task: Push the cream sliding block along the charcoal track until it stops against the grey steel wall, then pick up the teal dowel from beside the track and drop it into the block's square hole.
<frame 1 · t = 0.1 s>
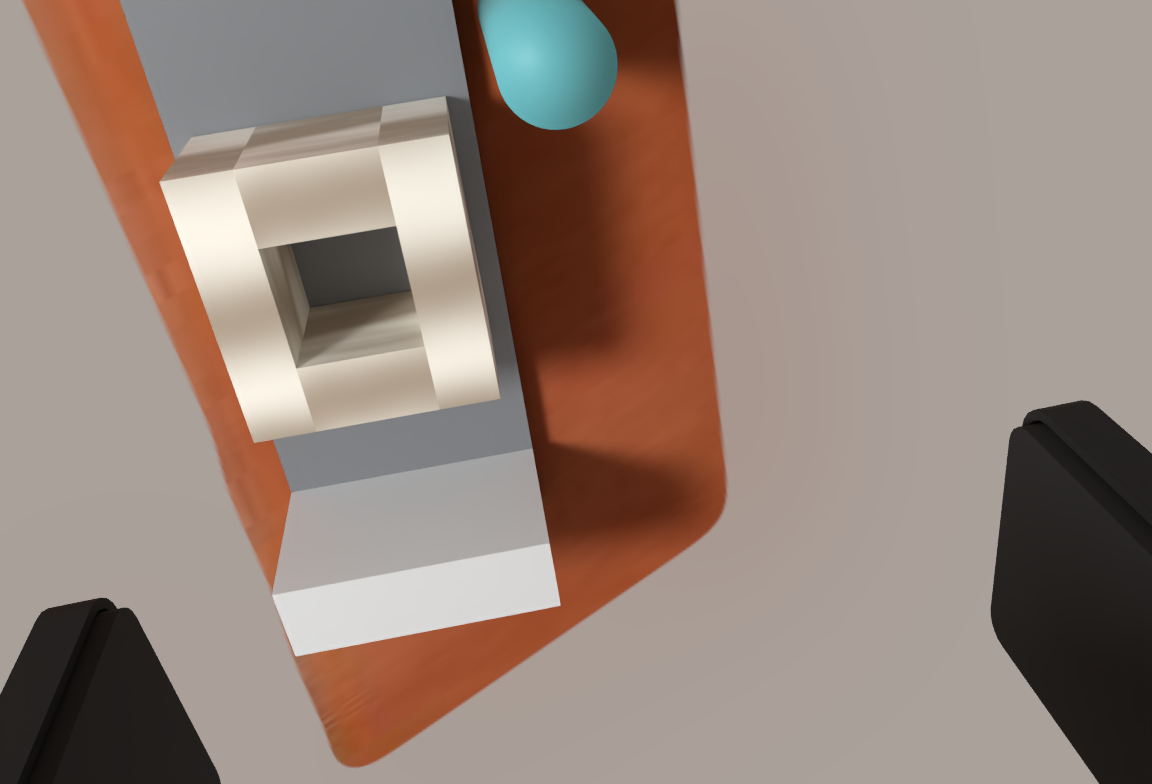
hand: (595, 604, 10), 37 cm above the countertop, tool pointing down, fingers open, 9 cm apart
track: (367, 285, 47), on the countertop
dowel: (523, 7, 42), on the countertop
block: (349, 270, 42), point 4 cm above the countertop, slide at -7.0 cm
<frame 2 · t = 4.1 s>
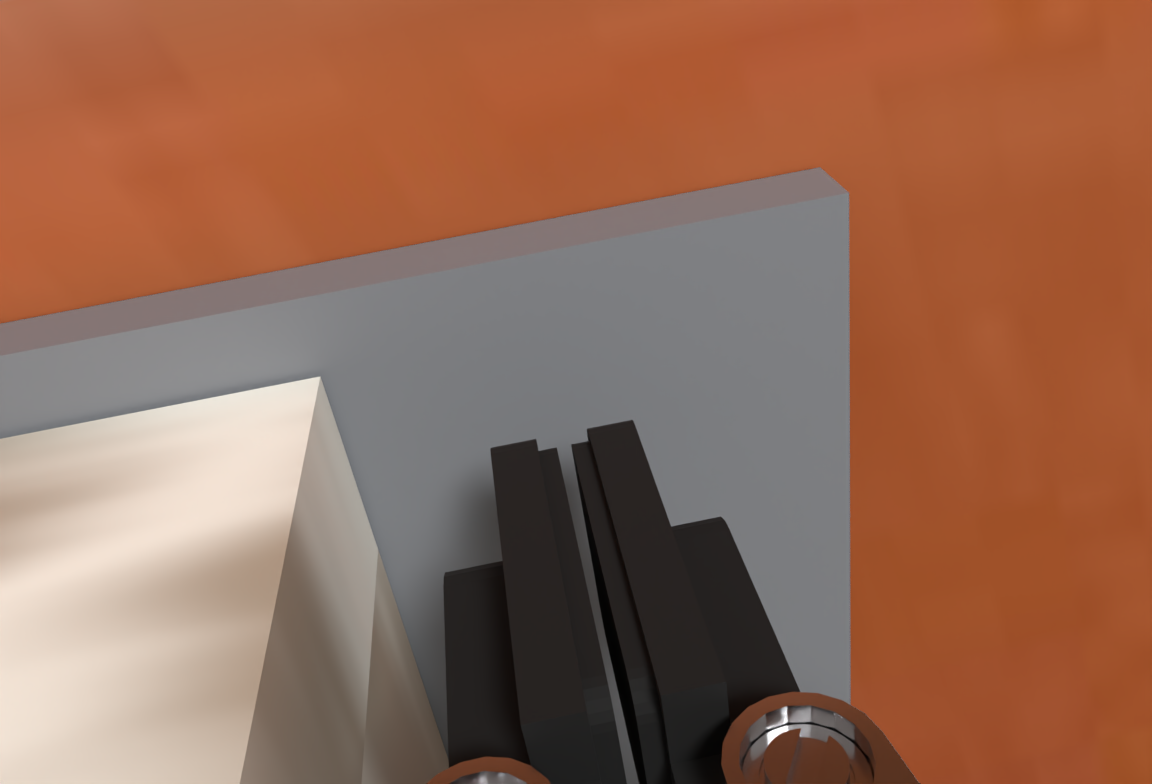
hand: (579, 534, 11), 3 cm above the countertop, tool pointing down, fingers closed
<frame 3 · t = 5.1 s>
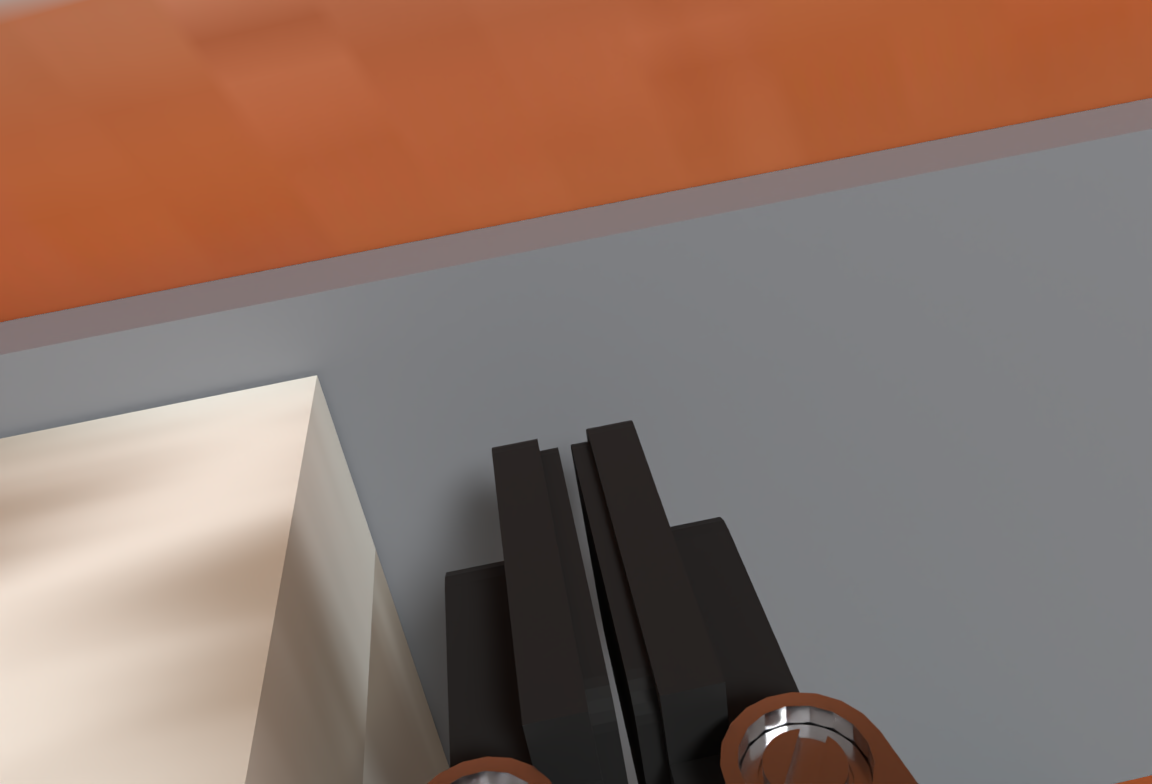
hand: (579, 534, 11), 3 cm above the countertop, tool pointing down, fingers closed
track: (328, 655, 15), on the countertop
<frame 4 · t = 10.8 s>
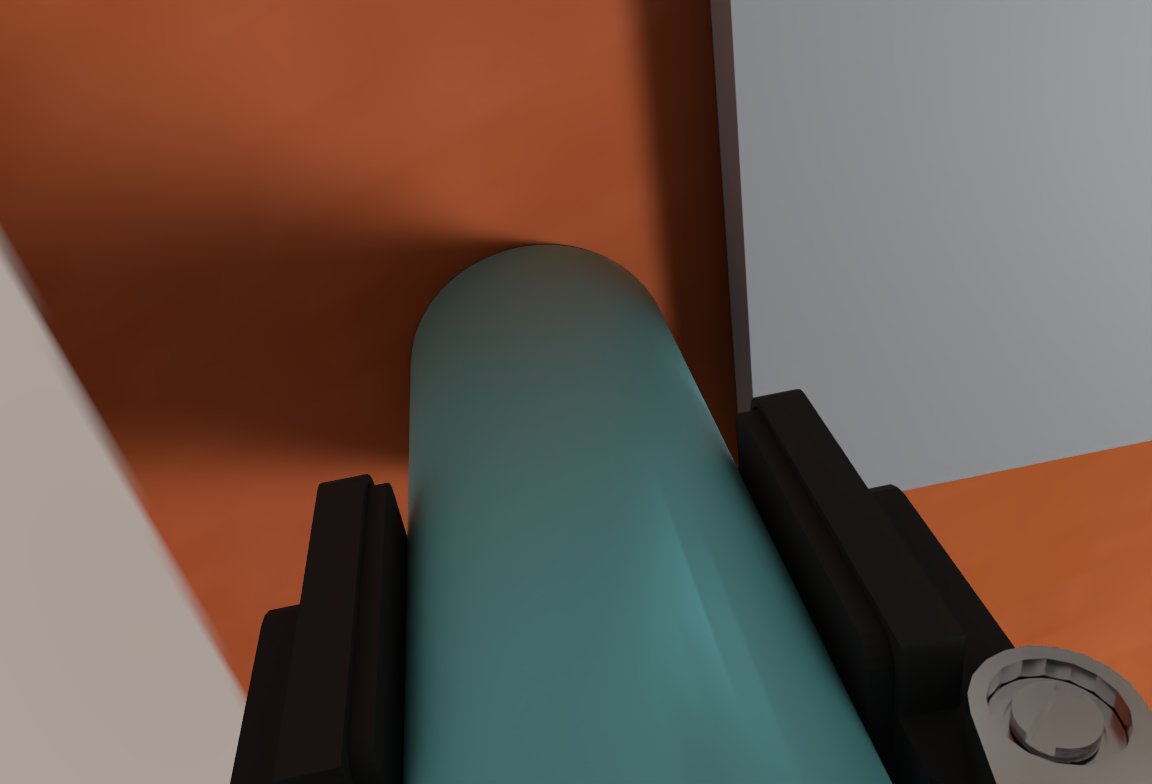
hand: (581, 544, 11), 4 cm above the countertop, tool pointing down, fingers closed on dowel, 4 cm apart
dowel: (542, 366, 15), on the countertop, touching gripper
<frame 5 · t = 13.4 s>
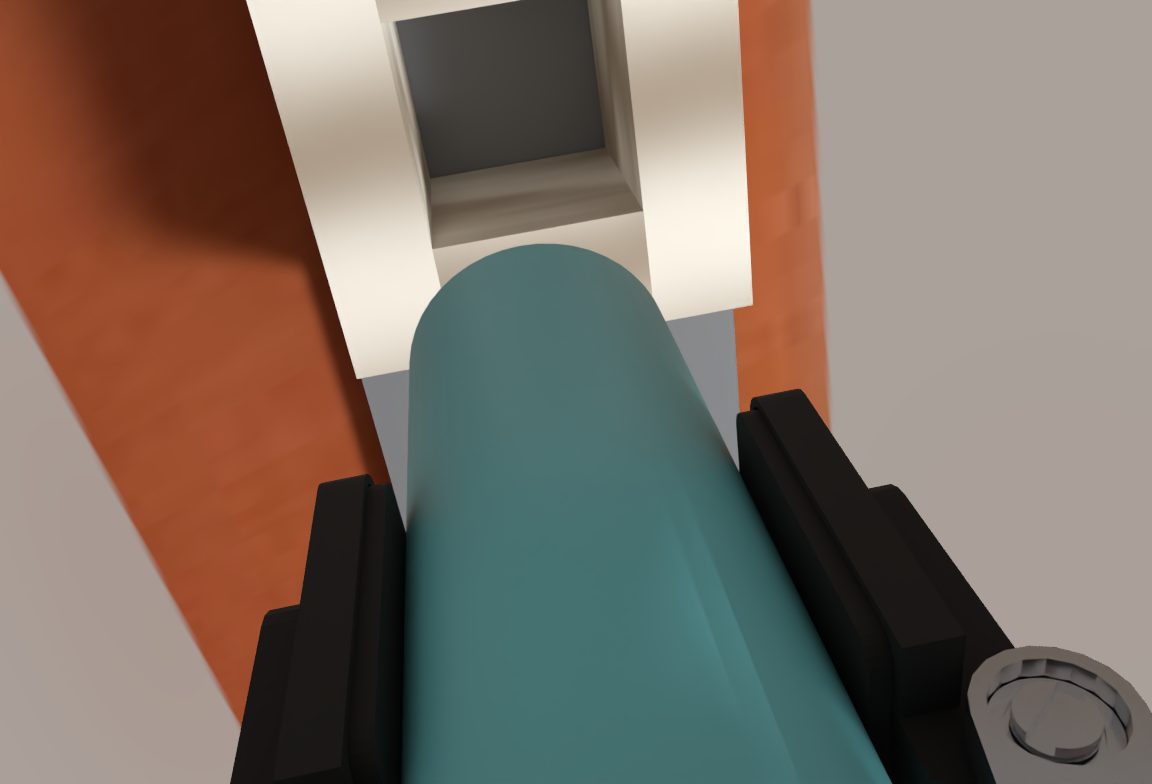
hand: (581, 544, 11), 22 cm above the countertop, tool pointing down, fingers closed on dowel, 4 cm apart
track: (523, 202, 32), on the countertop
dowel: (541, 365, 15), point 18 cm above the countertop, touching gripper
block: (510, 95, 26), point 4 cm above the countertop, slide at 0.0 cm
when the fingers open (8 cm above the countertop, at t = 16.5 s): dowel drops 2 cm, resting on track.
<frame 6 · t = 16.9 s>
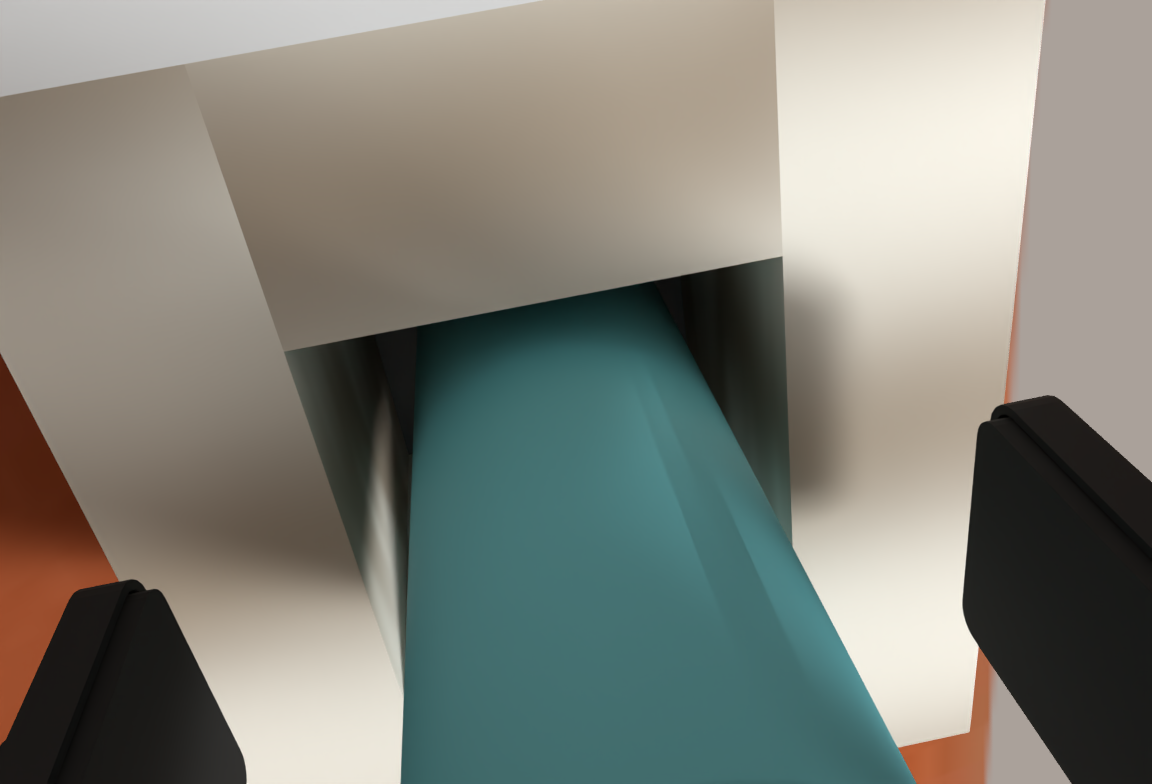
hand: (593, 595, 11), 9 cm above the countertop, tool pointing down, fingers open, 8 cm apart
track: (557, 464, 20), on the countertop
dowel: (533, 297, 17), point 1 cm above the countertop, touching track
block: (545, 382, 14), point 4 cm above the countertop, slide at 0.0 cm
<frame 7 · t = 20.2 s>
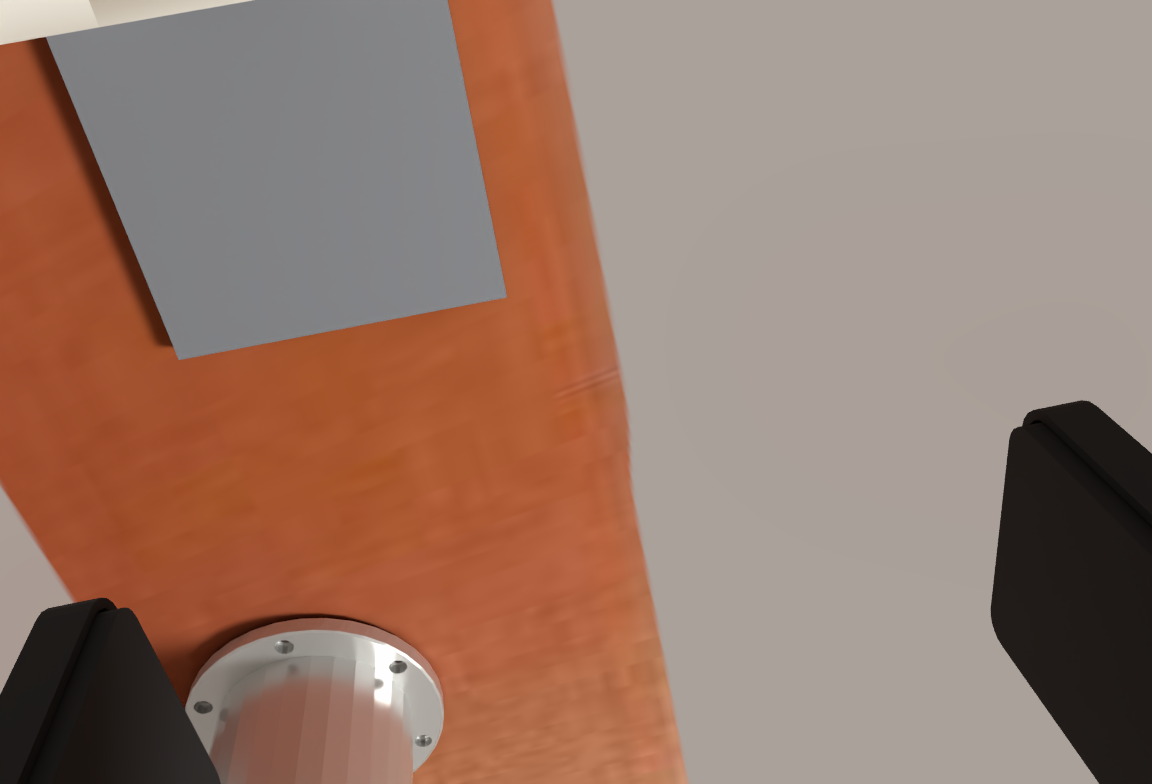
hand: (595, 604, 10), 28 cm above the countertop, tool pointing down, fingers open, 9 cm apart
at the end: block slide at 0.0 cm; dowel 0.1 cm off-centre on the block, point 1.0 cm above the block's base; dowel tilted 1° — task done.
